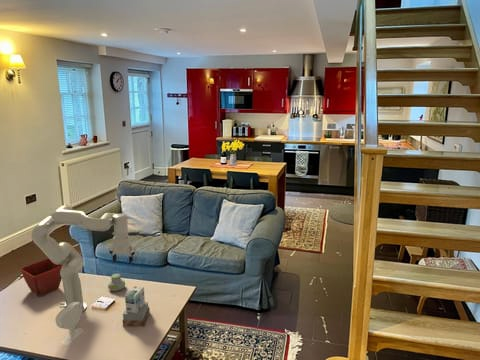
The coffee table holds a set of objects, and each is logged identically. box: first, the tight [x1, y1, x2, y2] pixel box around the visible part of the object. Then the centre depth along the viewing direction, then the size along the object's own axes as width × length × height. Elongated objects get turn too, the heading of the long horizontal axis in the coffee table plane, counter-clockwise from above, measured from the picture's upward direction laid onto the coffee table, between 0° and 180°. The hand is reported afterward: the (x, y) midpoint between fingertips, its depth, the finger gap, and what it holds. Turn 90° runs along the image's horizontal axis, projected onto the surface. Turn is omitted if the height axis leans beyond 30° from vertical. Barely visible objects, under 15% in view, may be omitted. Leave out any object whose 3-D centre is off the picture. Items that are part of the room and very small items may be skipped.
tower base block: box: [122, 306, 151, 328], centre depth 210 cm, size 12×13×4 cm
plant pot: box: [20, 257, 64, 297], centre depth 239 cm, size 19×19×17 cm
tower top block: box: [122, 301, 149, 321], centre depth 208 cm, size 11×12×4 cm
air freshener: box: [107, 273, 126, 292], centre depth 241 cm, size 11×8×10 cm
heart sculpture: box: [55, 302, 84, 346], centre depth 194 cm, size 16×5×18 cm, turn 163°
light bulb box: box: [124, 285, 146, 313], centre depth 207 cm, size 11×7×11 cm, turn 167°
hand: (122, 261), depth 214 cm, fingers open, 9 cm apart
